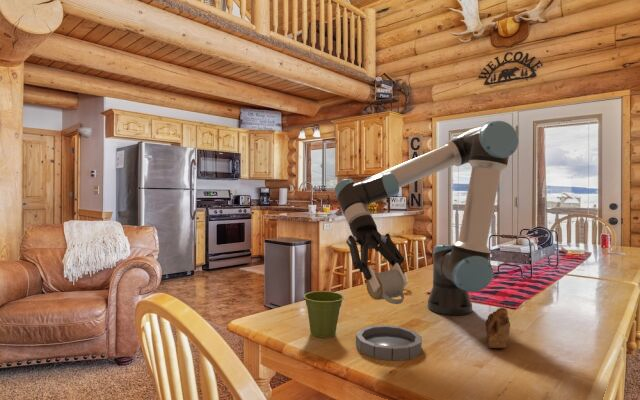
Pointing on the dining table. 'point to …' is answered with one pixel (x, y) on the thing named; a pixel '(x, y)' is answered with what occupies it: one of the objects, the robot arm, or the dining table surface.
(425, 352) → the dining table surface
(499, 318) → the decorative rock
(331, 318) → the plant pot
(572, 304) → the dining table surface
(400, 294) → the ceramic mug
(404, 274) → the ring
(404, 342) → the round tray
